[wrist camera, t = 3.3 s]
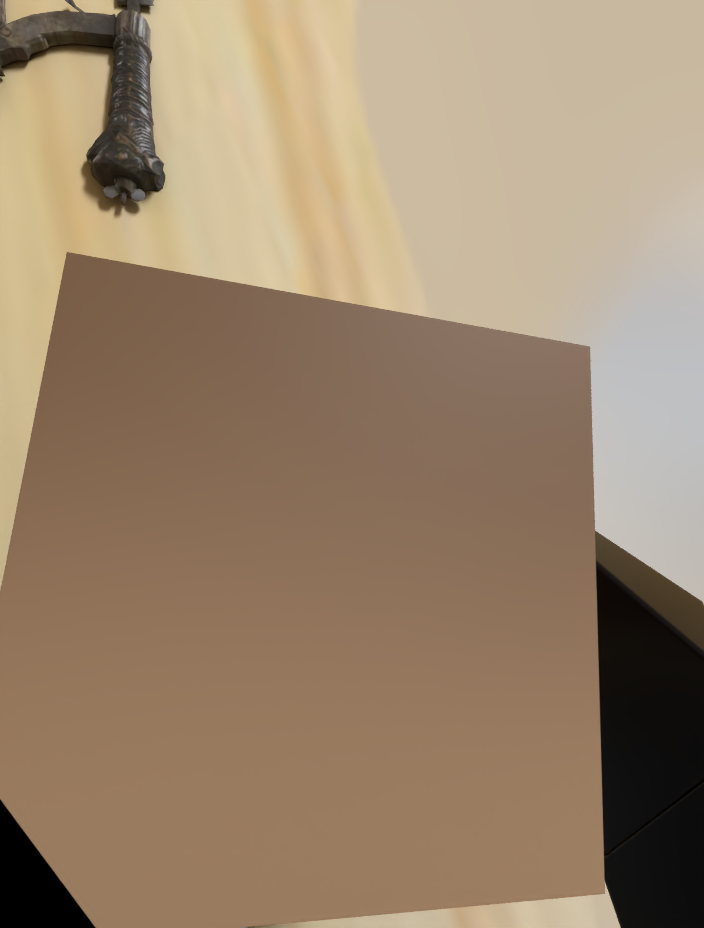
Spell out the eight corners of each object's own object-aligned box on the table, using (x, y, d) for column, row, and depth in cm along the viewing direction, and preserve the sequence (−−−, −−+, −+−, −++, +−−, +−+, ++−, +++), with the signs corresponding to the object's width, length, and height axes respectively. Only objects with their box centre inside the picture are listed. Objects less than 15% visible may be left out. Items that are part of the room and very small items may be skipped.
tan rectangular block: (297, 607, 15) (605, 895, 2) (196, 602, 14) (-69, 954, 2) (306, 509, 16) (588, 347, 3) (208, 501, 15) (66, 251, 2)
